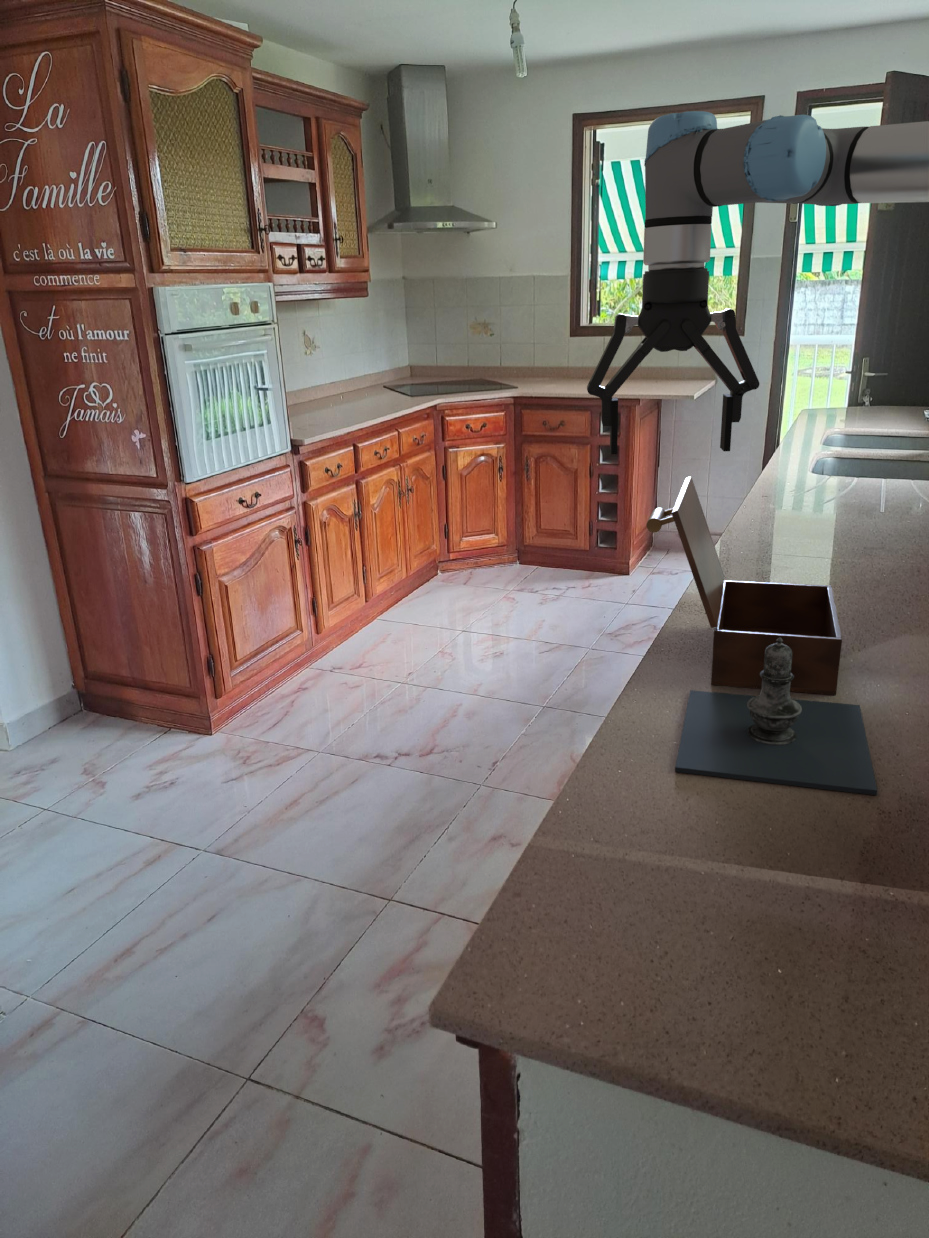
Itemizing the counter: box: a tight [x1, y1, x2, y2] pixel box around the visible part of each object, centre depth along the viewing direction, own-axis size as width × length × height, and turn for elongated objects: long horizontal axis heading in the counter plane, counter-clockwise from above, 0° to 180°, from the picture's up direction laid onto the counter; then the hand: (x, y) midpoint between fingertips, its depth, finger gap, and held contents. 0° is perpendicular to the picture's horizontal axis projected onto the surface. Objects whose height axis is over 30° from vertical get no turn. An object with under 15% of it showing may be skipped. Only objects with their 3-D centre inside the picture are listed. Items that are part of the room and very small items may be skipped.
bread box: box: [710, 579, 843, 696], centre depth 121 cm, size 15×21×8 cm
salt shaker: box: [747, 637, 802, 745], centre depth 99 cm, size 6×6×12 cm
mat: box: [674, 689, 878, 796], centre depth 101 cm, size 20×20×1 cm
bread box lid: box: [645, 475, 726, 629], centre depth 121 cm, size 16×21×6 cm
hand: (668, 451), depth 109 cm, fingers open, 13 cm apart
